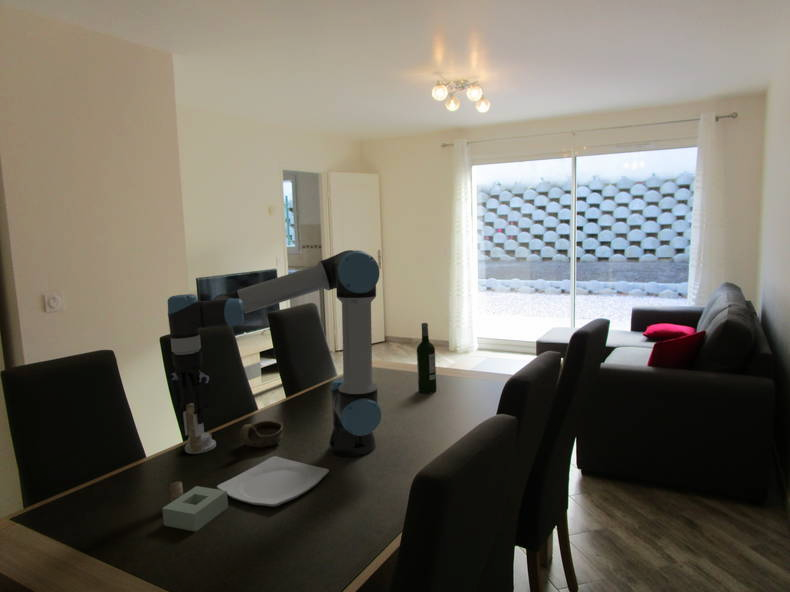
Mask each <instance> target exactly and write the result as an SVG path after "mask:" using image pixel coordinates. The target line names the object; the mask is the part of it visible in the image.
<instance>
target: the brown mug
mask: <svg viewBox="0 0 790 592" xmlns="http://www.w3.org/2000/svg"><path fill="white" fill-rule="evenodd" d="M283 429H284V425H283V423H282V422H279V421H276V420H267V419H266V420H261V421H257V422H252V423H249V424H247V423H246V424H244V425H242V426H241V429H240V432H239V435H240V436H239V437H240V440H241V441H242V443H243V444H245V445H247V446H250V447H254V448H267V447H273V446H274V444H276V443H279V442H280V441H282V439H283V435H284V430H283Z"/></svg>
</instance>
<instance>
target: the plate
mask: <svg viewBox="0 0 790 592" xmlns="http://www.w3.org/2000/svg"><path fill="white" fill-rule="evenodd" d="M328 473H330V470H329V468H324V467H320V466H316V465H315V466H314V465H311V464H308V463H303V462H299V461H294V460H290V459H288V458H287V459H286V458H284V457H280V456H277V455H275V456H271V457H269V458H267V459H266V460H264V461H262V462H260V463H259V464H257V465H254V466H253V467H251V468H249V469H247V470H245V471H243V472H242V473H240V474H238V475H236V476H234V477H232V478H230V479H228V480H226V481H224V482H222V483H219V484H218V485H217V486H216V489H218V490H224V491H227V496H229V497H230V498H232V499H233V500H238V501H240V502H242V503H246V504H250V505H256V506H264V507H272V508H273V507H278V506H280V505H282V504H285V503H288V502H290V501H292V500H295V499H297V498H298V497H300V496H301V495H304V494H305V493H306V492H308V491H310V490H311V489H312V488H314V487H315V486H316V485H317V484H319V482H320V481H322V479H323V478H324V477H325V476H326V475H327V474H328Z"/></svg>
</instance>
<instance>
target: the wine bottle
mask: <svg viewBox="0 0 790 592" xmlns="http://www.w3.org/2000/svg"><path fill="white" fill-rule="evenodd" d="M416 363H417V364H416V365H417V382H418V383H417V386H418V388H417V389H418V392H419V391H420V392H419V393H421V392H424V393H423V394H430V393H429V392H433V393H435V392H436V391H437V370H436V369H437V367H436V366H437V365H436V348H435V345H434V344H432V343H431V342H430V337H429V324H428V322H423V323H421V341H420V343H419V344H418V345H417V346H416ZM434 391H435V392H434Z"/></svg>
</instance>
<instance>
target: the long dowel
mask: <svg viewBox="0 0 790 592" xmlns="http://www.w3.org/2000/svg"><path fill="white" fill-rule="evenodd" d="M186 410H187V420H188V430H189V435H188V437H189V441H190V451H191V452H198V451H201V450H202V444H201V435H200V436H198V437H195V430H194V420H193V412H195V408H194V404H193V403H192V402H190V404H188V405H186Z"/></svg>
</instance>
